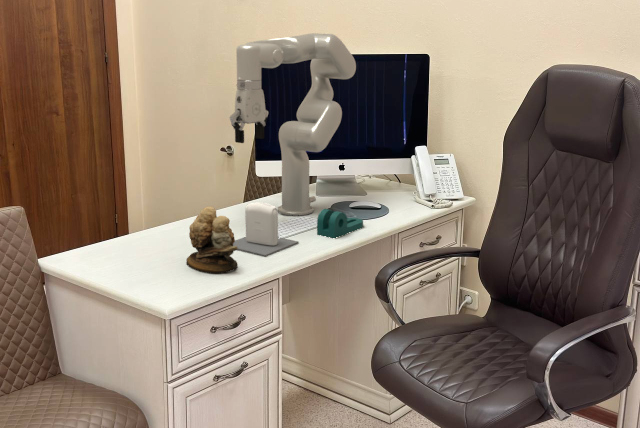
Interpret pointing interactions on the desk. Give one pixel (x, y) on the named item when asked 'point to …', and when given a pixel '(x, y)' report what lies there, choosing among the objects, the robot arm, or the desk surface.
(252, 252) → the mat
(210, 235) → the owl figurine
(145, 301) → the desk surface
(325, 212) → the bracket
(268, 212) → the photo printer
